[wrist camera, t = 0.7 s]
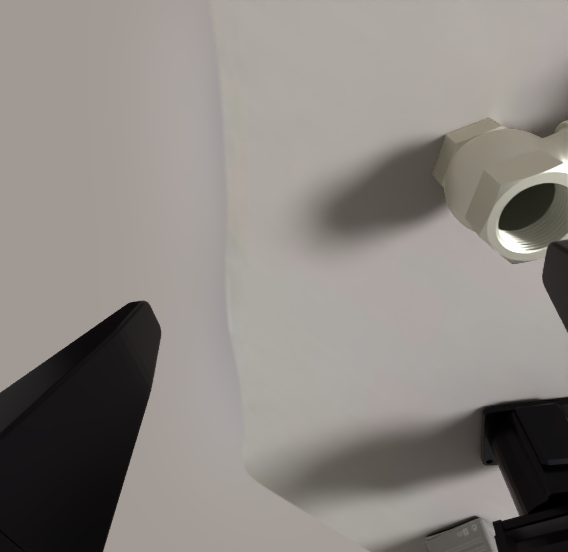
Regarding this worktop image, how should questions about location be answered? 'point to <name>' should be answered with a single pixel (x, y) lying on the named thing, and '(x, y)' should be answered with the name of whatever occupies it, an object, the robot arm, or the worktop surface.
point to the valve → (507, 186)
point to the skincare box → (464, 538)
